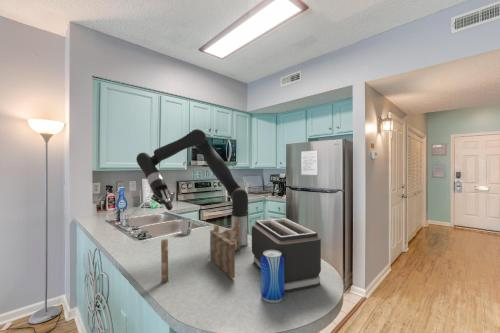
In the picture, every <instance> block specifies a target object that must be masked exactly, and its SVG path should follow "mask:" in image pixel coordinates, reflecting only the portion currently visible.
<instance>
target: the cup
mask: <svg viewBox="0 0 500 333" xmlns="http://www.w3.org/2000/svg"><path fill="white" fill-rule="evenodd" d="M179 224H180V229H181V233H182V236H189V235H190V234H191V233H192V227H193V218H190V217H185V218H181V219H179Z"/></svg>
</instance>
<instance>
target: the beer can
mask: <svg viewBox="0 0 500 333" xmlns="http://www.w3.org/2000/svg"><path fill="white" fill-rule="evenodd" d="M260 296H261V297H262V298H263V300H264V301H265V302H267V303H269V302H270V303H271V304H276V303H281V301H282V300H283V298H284V297H285V293H284V258H283V257H282V253H281V252H280V251H277V250H267V251H264V252H263V256H262V257H261V271H260Z"/></svg>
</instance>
